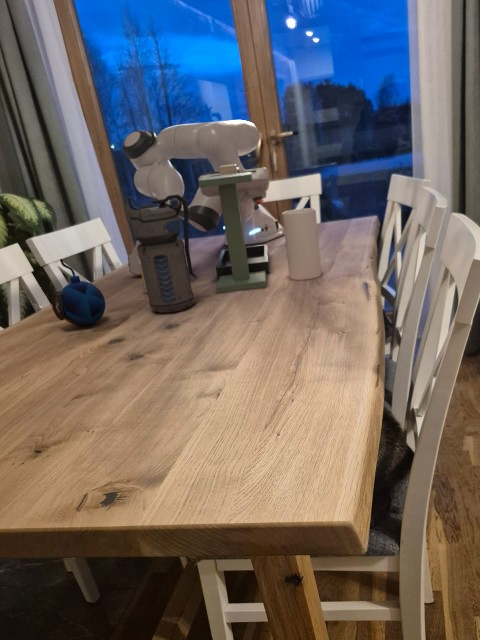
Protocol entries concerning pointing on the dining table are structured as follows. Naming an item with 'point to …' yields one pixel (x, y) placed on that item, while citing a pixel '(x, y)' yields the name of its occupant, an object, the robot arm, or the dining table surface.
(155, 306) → the grenade canister
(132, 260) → the sculpture
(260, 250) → the tray
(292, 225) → the cup
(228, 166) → the tan rectangular bar
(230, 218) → the stand
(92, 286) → the bomb
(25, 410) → the dining table surface
